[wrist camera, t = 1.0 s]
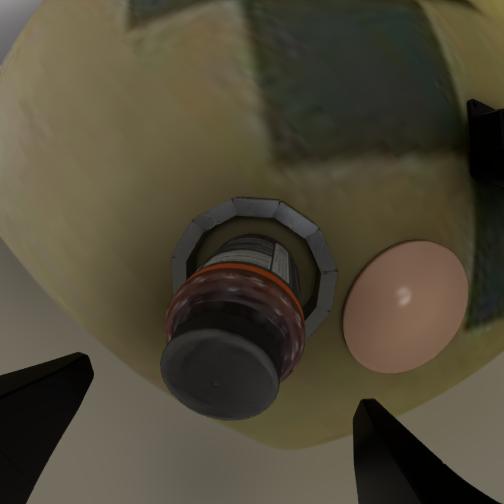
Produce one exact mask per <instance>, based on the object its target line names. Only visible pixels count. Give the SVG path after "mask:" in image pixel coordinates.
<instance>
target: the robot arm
mask: <svg viewBox="0 0 504 504" xmlns="http://www.w3.org/2000/svg"><path fill="white" fill-rule="evenodd" d="M472 103H473V104H472ZM473 105H474V106H473ZM468 113H469V127H470V174H471V176H472V177H473V178H474V179H478V180H481V181H484V182H487V183H490V184H493V185H496V186H499V187H501V188H504V108H503V109H498V110H495V109H493V108H491V107H489V106H487V105H485V104H483V103H481V102H479V101H477V100H475V99H471V100H468ZM475 170H476V172H477V173H476V174H475ZM93 378H94V372H93V369H92V365H91V362H90V359H89V357H88V355H86V354H83V353H81V352H76V353H73V354H70V355H67V356H64V357H60V358H57V359H54V360H51V361H48V362H45V363H42V364H38V365H35V366H31V367H28V368H24V369H21V370H18V371H14V372H11V373H8V374H4V375H0V504H26V503H27V501H28V499H29V497H30V495H31V493H32V491H33V489H34V486H35V484H36V482H37V480H38V479H39V477H40V475H41V473H42V471H43V469H44V467H45V465H46V463H47V462H48V460H49V458H50V456H51V455H52V453H53V451H54V449H55V448H56V446H57V444H58V442H59V440H60V439H61V437H62V435H63V434H64V432H65V430H66V429H67V427H68V425H69V424H70V422H71V421H72V419H73V417H74V415H75V414H76V412H77V411H78V409H79V407H80V405H81V403H82V400H83V398H84V396H85V394H86V392H87V390H88V388H89V386H90V384H91V382H92V380H93ZM353 451H354V470H355V477H356V485H357V494H358V503H359V504H502V503H499V502H497V501H495V500H494V499H492V498H490V497H489V496H487V495H486V494H484V493H483V492H481V491H479V490H478V489H477V488H475V487H473V486H472V485H471V484H469V483H468V482H466V481H465V480H464V479H462V478H461V477H460V476H459V475H457V474H456V473H455V472H454V471H453V470H451V469H450V468H449V467H448V466H447V465H446V464H443V462H442V461H441V460H440V459H439V458H438V457H437V456H436V455H434V453H433V452H431V451H430V450H429V449H428V448H427V447H426V446H425V445H424V444H423V443H422V442H420V441H419V440H418V439H417V438H416V437H415V436H414V435H413V434H412V433H411V432H410V431H409V430H408V429H406V428H405V427H404V426H403V425H402V424H401V423H400V422H399V421H398V420H397V419H396V418H395V417H394V416H393V415H392V414H390V413H389V412H388V411H387V410H386V409H385V408H384V407H383V406H382V405H381V404H380V403H379V402H378V401H377V400H376V399H373V398H370V399H362V400H361V401H360V403H359V405H358V408H357V410H356V412H355V415H354V417H353Z"/></svg>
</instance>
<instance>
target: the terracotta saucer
mask: <svg viewBox="0 0 504 504" xmlns="http://www.w3.org/2000/svg"><path fill="white" fill-rule="evenodd" d="M467 301H468V282H467V277H466V274H465V271H464V268H463V266H462V264H461V262H460V261H459V260H458V258H457V257H456V256H455V255H454V254H453V253H452V252H451V251H450V250H448V249H447V248H445V247H443V246H441V245H439V244H437V243H434V242H432V241H427V240H408V241H404V242H401V243H398V244H395V245H393V246H391V247H389V248H387V249H385V250H384V251H382V252H381V253H379V254H378V255H377V256H375V257H374V258H373V259H372V260H371V261H370V262H369V263H368V264H366V266H365V267H364V268H363V269H362V270H361V272H360V273H359V274H358V276H357V277H356V279H355V280H354V282H353V284H352V286H351V287H350V289H349V292H348V294H347V297H346V300H345V303H344V307H343V314H342V328H343V334H344V337H345V340H346V343H347V346H348V348H349V350H350V352H351V354H352V355H353V357H354V358H355V359H356V360H357V361H358V362H359V363H360V364H361V365H363V366H364V367H366V368H368V369H370V370H372V371H376V372H380V373H401V372H405V371H409V370H412V369H414V368H417V367H419V366H421V365H423V364H425V363H426V362H428V361H430V360H431V359H432V358H434V357H435V356H436V355H437V354H438V353H440V352H441V351H442V350H443V349H444V348H445V347H446V345H447V344H448V343H449V342H450V341H451V339H452V338H453V337H454V335H455V333H456V332H457V330H458V328H459V326H460V324H461V322H462V320H463V317H464V314H465V311H466V307H467Z"/></svg>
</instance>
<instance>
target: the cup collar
mask: <svg viewBox="0 0 504 504" xmlns="http://www.w3.org/2000/svg"><path fill="white" fill-rule="evenodd" d="M236 215H237V216H252V217H266V218H275V219H276V220H278V221H279V222H281V223H282V224H284V225H285V226H287V227H288V228H290V229H291V230H293V231H294V232H296V233H297V234H298V235H300V236H301V237H303V238H304V239H306V240H307V242H308V245H309V247H310V249H311V251H312V253H313V255H314V258H315V260H316V262H317V264H318V267H317V275H316V283H315V290H314V295H313V297H312V298H311V299H310V300H309V302H308V303H307V304H306V305H305V306H304V308H303V315H304V320H305V335H306V337H305V341H306V340H307V339H308V338H309V337H310V336H311V335H312V334H313V332H314V331H315V330H316V329H317V328H318V327H319V326H320V324H321V323H322V322H323V321H324V320H325V319H326V317H327V316H328V315H329V314H330V311H331V310H332V305H333V299H334V293H335V287H336V281H337V274H338V271H337V267H336V264H335V262H334V260H333V257H332V255H331V252H330V250H329V248H328V246H327V243H326V241H325V239H324V236H323V234H322V232H321V230H320V229H319V227H318V226H317V225H316V223H314V222H313V221H312V220H310V219H309V218H307V217H306V216H304V215H303V214H302V213H300V212H299V211H297V210H296V209H294V208H293V207H291V206H290V205H289V204H287V203H286V202H284V201H283V200H282V201H281V202H280V204H279V199H270V198H254V197H236V198H232V199H229V200H227V201H226V202H224V203H222V204H220V205H218V206H216V207H214V208H212V209H210V210H209V211H207V212H205V213H203V214H201V215H199V216H197V217H196V218H194V220H192V221H191V222H190V224H189V226H188V227H187V229H186V231H185V233H184V234H183V236H182V238H181V240H180V241H179V243H178V245H177V247H176V249H175V251H174V252H173V254H172V255H173V257H172V285H173V295H175V293H176V292H177V290H178V289H179V288H180V287H181V286H182V285H183V284H184V283H185V282H186V281H187V280H188V279H189V278H190V277H191V276H192V275H193V274H194V273H195V272H196V252H197V251H198V249H199V247H200V246H201V244H202V242H203V241H204V239H205V237H206V236H207V234H208V232H209V231H210V229H211V228H212V227H214V226H216V225H218V224H220V223H222V222H224V221H226V220H228V219H230V218H232V217H234V216H236Z"/></svg>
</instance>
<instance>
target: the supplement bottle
mask: <svg viewBox="0 0 504 504" xmlns="http://www.w3.org/2000/svg"><path fill="white" fill-rule="evenodd" d="M165 336H166V341H167V346H166V348H165V349H164V351H163V354H162V357H161V362H160V366H161V374H162V377H163V380H164V383H165V384H166V386H167V388H168V389H169V390H170V392H171V394H173V395H174V396H175V397H176V398H177V399H178V400H179V401H180V402H181V403H182V404H183V405H185V406H186V407H188V408H189V409H191V410H193V411H195V412H197V413H198V414H201V415H204V416H207V417H211V418H215V419H220V420H243V419H247V418H251V417H253V416H256V415H258V414H260V413H261V412H263V411H264V410H266V409H267V408H268V407H269V406H270V405H271V404H272V403H273V401H274V400H275V398H276V396H277V393H278V390H279V384H280V382H282V381H283V380H284V379H286V378H287V377H288V376H289V375H290V374H291V373H292V372H293V370H294V369H295V368H296V366H297V365H298V363H299V361H300V358H301V356H302V353H303V350H304V346H305V337H306V335H305V320H304V315H303V307H302V298H301V291H300V284H299V277H298V270H297V266H296V264H295V262H294V259H293V257H292V256H291V254H290V252H289V251H288V250H287V249H286V248H285V247H284V246H283V245H282V244H281V243H279V242H278V241H276V240H274V239H273V238H270V237H268V236H264V235H259V234H247V235H242V236H238V237H236V238H233V239H231V240H230V241H228V242H227V243H225V244H224V245H223V246H221V247H220V248H219V249H218V250H217V251H216V252H215V253H214V254H213V255H212V256H211V257H210V258H209V259H208V260H207V261H206V262H205V263H204V264H203V265H202V266H201V267H200V268H199V269H198V270H197V271H196V272H195V273H194V274H193V275H192V276H191V277H190V278H189V279H188V280H187V281H186V282H185V283H184V284H183V285H182V286H181V287H180V288H179V289H178V290H177V292H176V293H175V295H174V296H173V298H172V300H171V302H170V303H169V306H168V309H167V312H166V317H165Z"/></svg>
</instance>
